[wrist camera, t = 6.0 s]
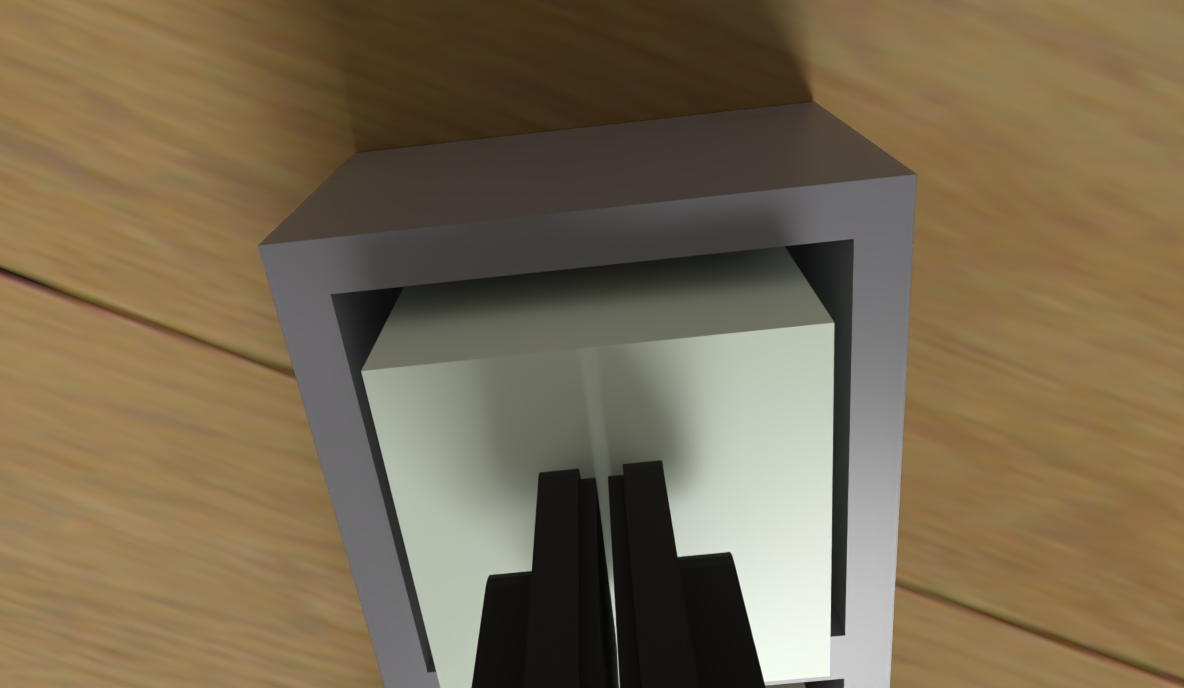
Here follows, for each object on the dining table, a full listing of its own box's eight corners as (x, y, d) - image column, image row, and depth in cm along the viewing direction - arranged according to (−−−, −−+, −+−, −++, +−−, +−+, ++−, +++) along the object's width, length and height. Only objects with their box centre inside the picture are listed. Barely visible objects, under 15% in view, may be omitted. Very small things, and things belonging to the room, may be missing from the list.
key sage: (771, 225, 14) (833, 322, 11) (776, 518, 17) (829, 675, 13) (415, 263, 15) (361, 371, 11) (474, 546, 17) (445, 709, 14)
